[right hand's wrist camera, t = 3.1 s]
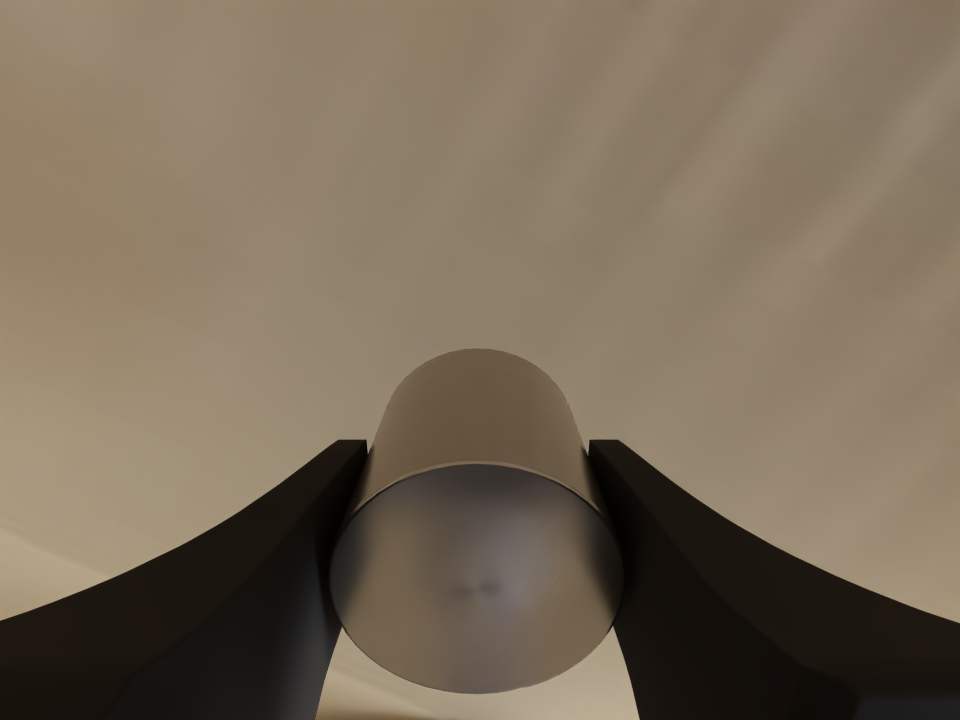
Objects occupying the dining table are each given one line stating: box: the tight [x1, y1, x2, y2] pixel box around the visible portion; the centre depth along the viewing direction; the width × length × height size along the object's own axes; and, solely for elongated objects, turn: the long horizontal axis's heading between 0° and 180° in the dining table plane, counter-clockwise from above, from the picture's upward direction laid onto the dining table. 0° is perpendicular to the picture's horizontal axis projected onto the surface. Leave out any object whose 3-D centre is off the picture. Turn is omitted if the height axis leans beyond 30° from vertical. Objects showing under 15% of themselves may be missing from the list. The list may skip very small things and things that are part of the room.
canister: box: [328, 349, 626, 694], centre depth 10 cm, size 5×5×5 cm
